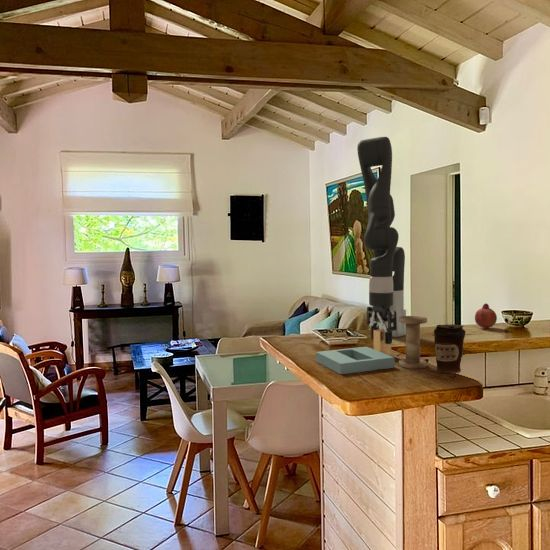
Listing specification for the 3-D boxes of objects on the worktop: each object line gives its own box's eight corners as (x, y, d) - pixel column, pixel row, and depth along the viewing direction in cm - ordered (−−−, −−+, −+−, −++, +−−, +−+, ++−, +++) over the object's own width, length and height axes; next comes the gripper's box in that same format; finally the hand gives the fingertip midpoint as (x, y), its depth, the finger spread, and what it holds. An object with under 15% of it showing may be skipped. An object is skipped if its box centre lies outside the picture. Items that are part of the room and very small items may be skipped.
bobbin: (416, 360, 163) (416, 315, 162) (432, 366, 156) (432, 319, 155) (393, 363, 160) (393, 317, 159) (409, 369, 153) (409, 321, 152)
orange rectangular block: (384, 353, 174) (384, 328, 174) (391, 355, 171) (391, 330, 170) (373, 354, 173) (373, 329, 172) (380, 356, 169) (380, 331, 169)
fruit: (470, 327, 215) (470, 302, 214) (488, 326, 217) (488, 301, 216) (482, 331, 207) (483, 305, 207) (501, 329, 209) (501, 304, 209)
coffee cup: (460, 377, 145) (461, 329, 144) (429, 373, 149) (429, 327, 148) (467, 369, 152) (468, 324, 151) (438, 366, 156) (438, 322, 155)
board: (366, 355, 171) (366, 346, 171) (394, 367, 156) (394, 357, 156) (316, 361, 165) (316, 352, 165) (340, 374, 150) (340, 363, 150)
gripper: (404, 292, 165) (403, 344, 166) (379, 288, 178) (379, 336, 179) (382, 293, 162) (382, 346, 163) (359, 289, 175) (359, 338, 177)
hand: (381, 341), depth 171 cm, fingers open, 8 cm apart
